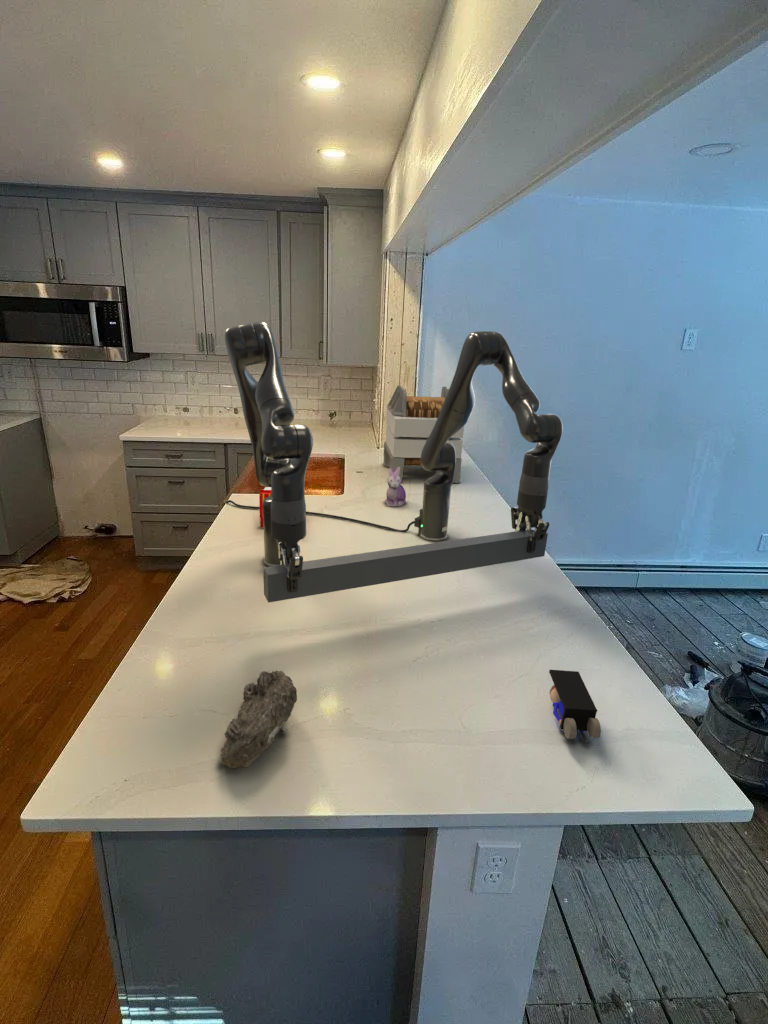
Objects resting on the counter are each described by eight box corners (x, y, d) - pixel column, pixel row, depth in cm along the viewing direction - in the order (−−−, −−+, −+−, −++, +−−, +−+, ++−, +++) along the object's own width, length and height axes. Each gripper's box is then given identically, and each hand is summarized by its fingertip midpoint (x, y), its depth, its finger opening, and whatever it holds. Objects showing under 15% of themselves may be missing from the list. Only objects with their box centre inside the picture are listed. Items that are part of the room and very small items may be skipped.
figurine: (390, 508, 224) (392, 471, 219) (379, 500, 233) (380, 465, 228) (411, 505, 229) (413, 469, 223) (399, 498, 237) (401, 463, 232)
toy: (299, 478, 224) (289, 491, 195) (299, 512, 227) (289, 529, 198) (268, 478, 224) (253, 490, 194) (268, 511, 226) (254, 528, 197)
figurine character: (598, 755, 105) (572, 695, 118) (607, 725, 101) (580, 667, 115) (562, 754, 104) (541, 694, 118) (570, 724, 101) (547, 666, 114)
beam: (534, 550, 160) (538, 528, 158) (544, 556, 157) (548, 533, 154) (263, 594, 129) (263, 567, 127) (268, 602, 126) (267, 575, 123)
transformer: (382, 463, 289) (386, 382, 275) (445, 464, 293) (451, 384, 279) (390, 482, 257) (394, 392, 243) (460, 483, 261) (468, 394, 247)
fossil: (239, 671, 114) (294, 639, 110) (270, 702, 117) (325, 672, 112) (196, 762, 95) (261, 727, 90) (236, 796, 98) (300, 764, 93)
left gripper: (263, 507, 127) (266, 575, 133) (279, 530, 115) (281, 604, 121) (296, 504, 130) (297, 571, 136) (315, 525, 118) (315, 598, 124)
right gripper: (505, 483, 154) (498, 541, 160) (539, 499, 142) (530, 561, 148) (527, 481, 157) (520, 538, 163) (562, 496, 145) (552, 557, 151)
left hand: (289, 586), depth 129 cm, fingers closed on beam, 4 cm apart
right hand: (524, 549), depth 155 cm, fingers closed on beam, 4 cm apart
